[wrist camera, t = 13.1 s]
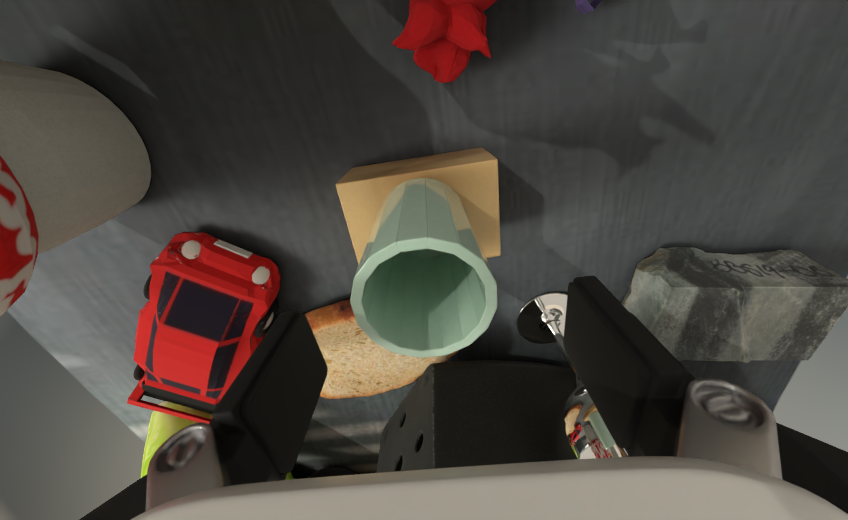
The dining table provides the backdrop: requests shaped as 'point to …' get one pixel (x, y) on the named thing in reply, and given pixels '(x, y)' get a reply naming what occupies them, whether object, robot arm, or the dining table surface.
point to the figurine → (451, 33)
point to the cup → (423, 274)
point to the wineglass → (577, 415)
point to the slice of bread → (360, 356)
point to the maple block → (459, 170)
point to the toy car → (200, 322)
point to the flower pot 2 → (476, 416)
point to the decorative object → (59, 167)
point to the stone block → (736, 303)
